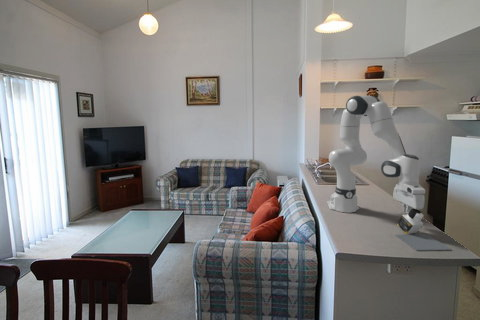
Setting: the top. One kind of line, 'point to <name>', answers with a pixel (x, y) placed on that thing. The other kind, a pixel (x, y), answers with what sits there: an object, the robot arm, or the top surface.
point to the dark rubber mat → (422, 242)
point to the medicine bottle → (411, 222)
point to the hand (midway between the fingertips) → (406, 212)
